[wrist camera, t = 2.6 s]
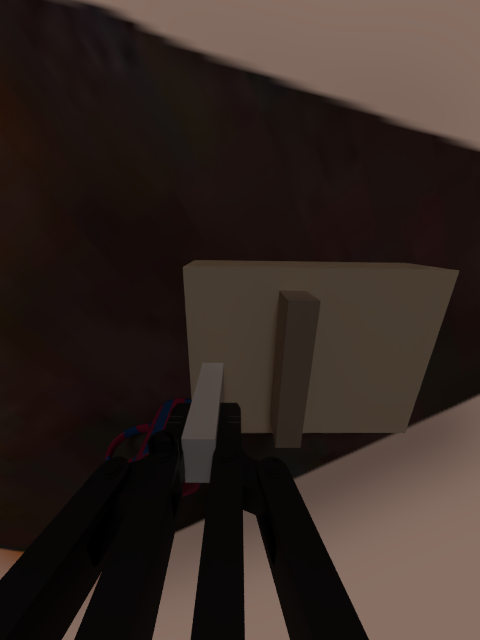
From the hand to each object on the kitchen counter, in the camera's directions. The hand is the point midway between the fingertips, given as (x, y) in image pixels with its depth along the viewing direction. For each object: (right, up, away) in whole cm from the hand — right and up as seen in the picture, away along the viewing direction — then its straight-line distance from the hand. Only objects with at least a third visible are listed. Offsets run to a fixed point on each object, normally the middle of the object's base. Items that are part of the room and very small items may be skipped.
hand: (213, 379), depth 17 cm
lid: (+8, +1, +3) cm, 8 cm away
